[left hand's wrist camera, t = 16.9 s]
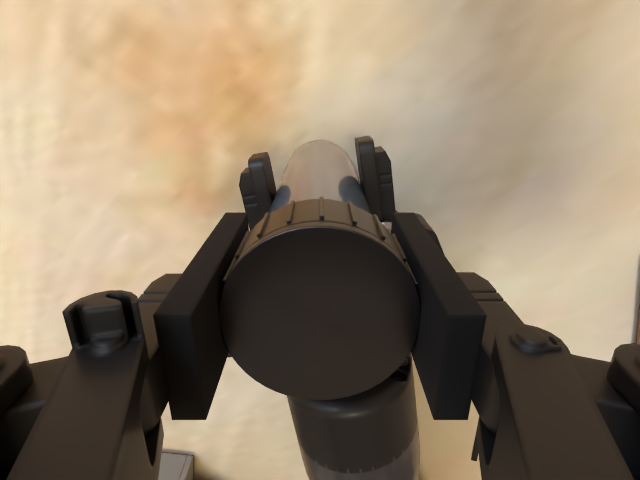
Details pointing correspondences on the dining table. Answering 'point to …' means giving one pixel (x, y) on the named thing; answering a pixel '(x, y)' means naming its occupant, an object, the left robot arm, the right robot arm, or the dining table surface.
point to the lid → (319, 301)
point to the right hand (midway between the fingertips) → (310, 149)
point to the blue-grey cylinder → (319, 176)
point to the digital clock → (176, 467)
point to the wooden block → (639, 334)
